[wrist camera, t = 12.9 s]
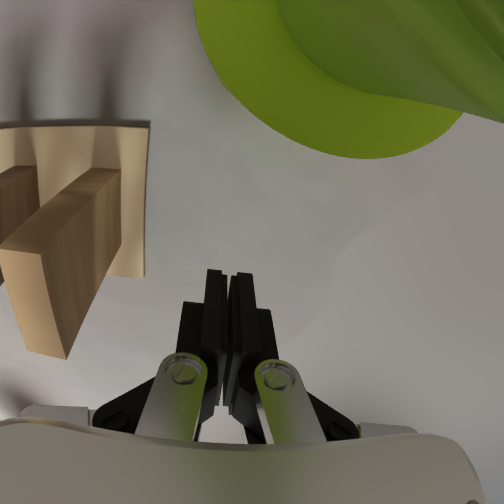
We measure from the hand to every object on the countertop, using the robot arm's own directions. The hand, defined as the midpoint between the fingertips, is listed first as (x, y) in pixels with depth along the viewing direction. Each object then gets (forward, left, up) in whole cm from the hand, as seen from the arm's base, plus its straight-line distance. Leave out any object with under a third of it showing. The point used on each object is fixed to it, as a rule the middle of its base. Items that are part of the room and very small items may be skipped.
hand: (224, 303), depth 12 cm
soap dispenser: (+2, +10, -9) cm, 13 cm away
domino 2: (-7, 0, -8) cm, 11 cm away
